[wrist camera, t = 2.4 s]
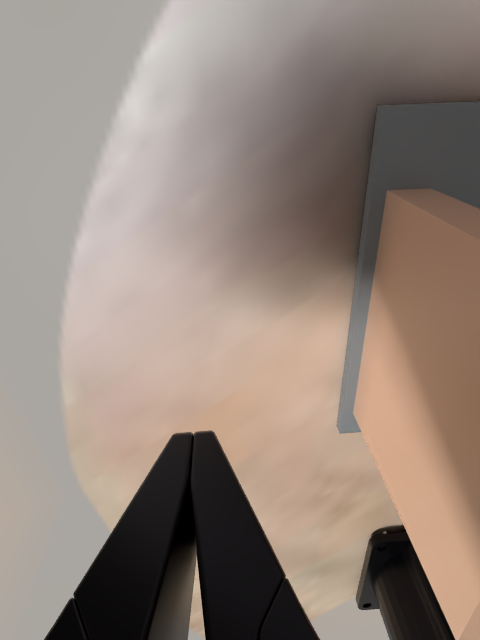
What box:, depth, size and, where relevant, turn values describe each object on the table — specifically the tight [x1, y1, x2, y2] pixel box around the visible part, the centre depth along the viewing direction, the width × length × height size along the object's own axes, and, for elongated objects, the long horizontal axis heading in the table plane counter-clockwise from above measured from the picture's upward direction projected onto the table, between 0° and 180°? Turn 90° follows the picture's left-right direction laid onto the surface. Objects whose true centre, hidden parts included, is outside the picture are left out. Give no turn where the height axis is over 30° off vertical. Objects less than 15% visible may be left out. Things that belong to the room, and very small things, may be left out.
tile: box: [353, 188, 480, 640], centre depth 9 cm, size 8×1×7 cm, turn 2°
